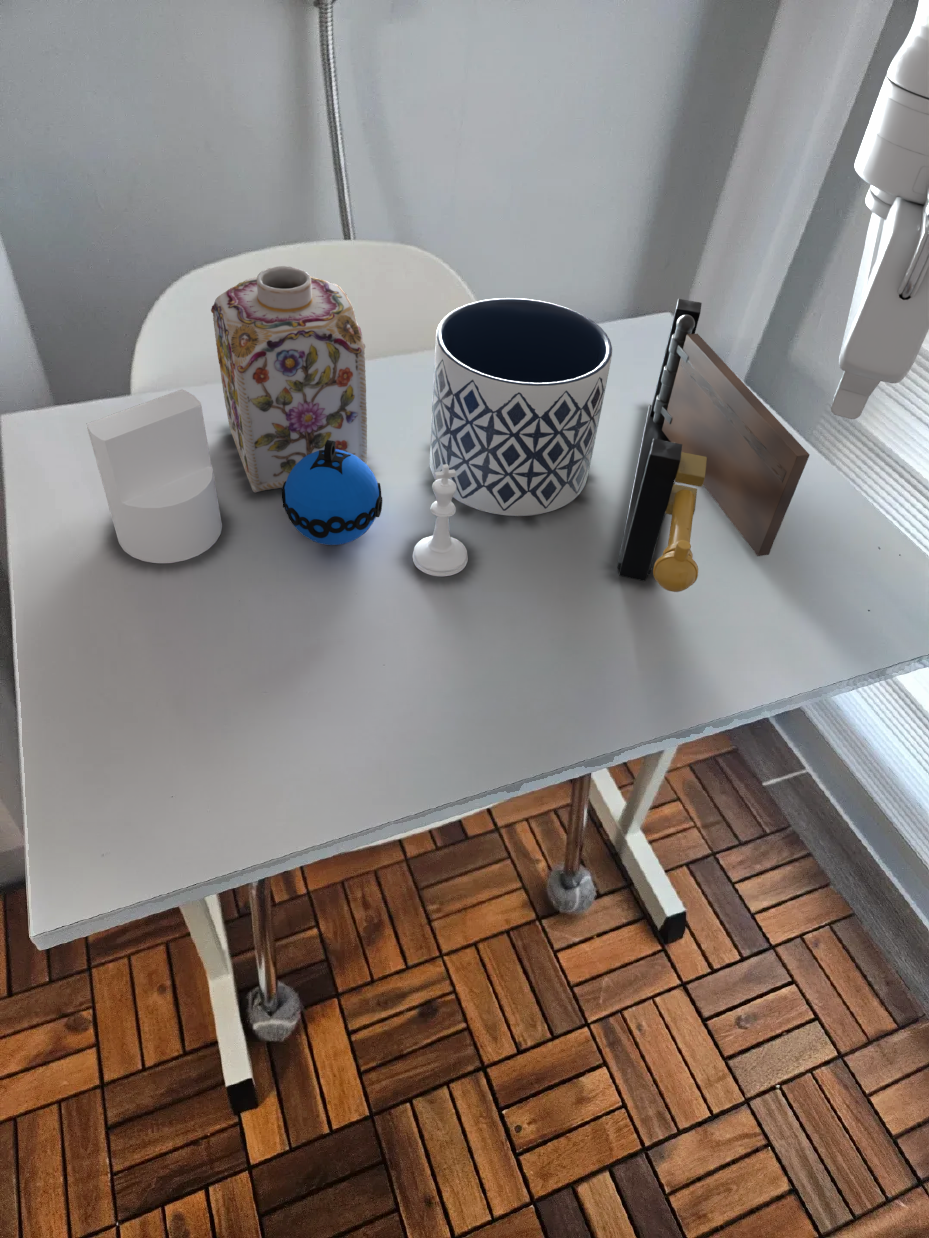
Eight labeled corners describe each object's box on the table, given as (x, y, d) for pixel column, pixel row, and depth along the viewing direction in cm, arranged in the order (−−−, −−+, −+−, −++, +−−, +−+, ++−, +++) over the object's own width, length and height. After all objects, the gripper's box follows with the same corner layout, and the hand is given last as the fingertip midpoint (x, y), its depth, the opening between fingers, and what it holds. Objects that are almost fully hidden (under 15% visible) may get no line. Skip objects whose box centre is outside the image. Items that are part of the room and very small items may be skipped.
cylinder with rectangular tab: (188, 487, 84) (166, 373, 75) (241, 535, 80) (224, 419, 71) (98, 525, 79) (64, 408, 71) (150, 577, 75) (120, 460, 66)
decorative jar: (338, 412, 95) (331, 243, 82) (370, 475, 87) (369, 300, 74) (225, 429, 91) (199, 255, 78) (249, 496, 84) (225, 316, 71)
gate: (648, 417, 96) (674, 311, 88) (664, 415, 97) (692, 310, 88) (753, 557, 81) (797, 445, 72) (772, 554, 81) (818, 443, 73)
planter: (558, 421, 96) (578, 293, 86) (609, 511, 86) (640, 378, 75) (414, 432, 93) (418, 301, 83) (449, 528, 82) (459, 391, 72)
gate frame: (648, 409, 99) (675, 298, 90) (691, 417, 99) (723, 306, 89) (615, 577, 79) (645, 455, 70) (669, 589, 78) (708, 468, 69)
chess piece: (405, 545, 80) (407, 453, 73) (457, 536, 82) (464, 444, 74) (421, 581, 77) (425, 488, 70) (475, 571, 78) (484, 479, 71)
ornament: (301, 499, 84) (294, 407, 77) (390, 513, 83) (391, 421, 76) (273, 558, 78) (262, 464, 71) (369, 573, 77) (367, 480, 70)
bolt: (660, 509, 73) (672, 467, 70) (699, 517, 72) (713, 475, 69) (647, 596, 65) (659, 552, 62) (690, 605, 65) (705, 562, 62)
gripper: (1015, 227, 41) (891, 474, 50) (1004, 113, 54) (908, 325, 64) (874, 198, 42) (779, 444, 52) (898, 94, 56) (820, 304, 65)
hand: (851, 377), depth 58 cm, fingers open, 8 cm apart
